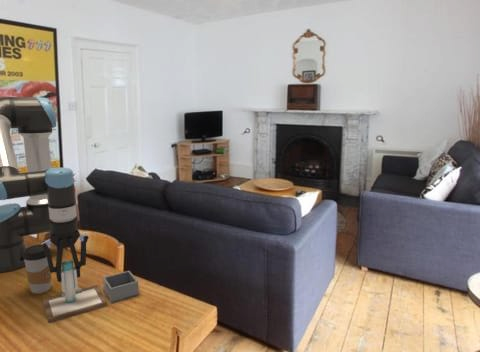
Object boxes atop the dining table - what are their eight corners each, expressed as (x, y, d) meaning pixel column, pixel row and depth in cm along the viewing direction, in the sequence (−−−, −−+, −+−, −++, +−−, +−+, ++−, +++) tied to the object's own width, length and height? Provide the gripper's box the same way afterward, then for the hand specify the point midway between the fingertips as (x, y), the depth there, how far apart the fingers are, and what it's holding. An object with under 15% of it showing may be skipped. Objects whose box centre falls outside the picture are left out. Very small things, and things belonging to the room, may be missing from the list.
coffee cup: (42, 297, 121) (38, 255, 118) (21, 294, 123) (16, 252, 120) (59, 284, 129) (56, 245, 126) (39, 281, 131) (35, 242, 128)
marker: (64, 298, 118) (60, 261, 115) (75, 296, 119) (71, 259, 117) (66, 303, 115) (62, 265, 112) (77, 300, 117) (73, 263, 114)
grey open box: (103, 290, 126) (102, 277, 125) (130, 283, 131) (129, 270, 130) (111, 303, 119) (110, 289, 117) (138, 294, 124) (138, 281, 123)
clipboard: (42, 302, 118) (42, 296, 118) (97, 288, 128) (97, 282, 127) (48, 323, 108) (47, 317, 107) (107, 305, 117) (107, 300, 117)
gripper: (34, 227, 104) (43, 301, 109) (93, 217, 113) (98, 286, 118) (32, 219, 110) (40, 290, 115) (88, 211, 119) (93, 277, 124)
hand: (69, 288), depth 116 cm, fingers closed on marker, 3 cm apart
